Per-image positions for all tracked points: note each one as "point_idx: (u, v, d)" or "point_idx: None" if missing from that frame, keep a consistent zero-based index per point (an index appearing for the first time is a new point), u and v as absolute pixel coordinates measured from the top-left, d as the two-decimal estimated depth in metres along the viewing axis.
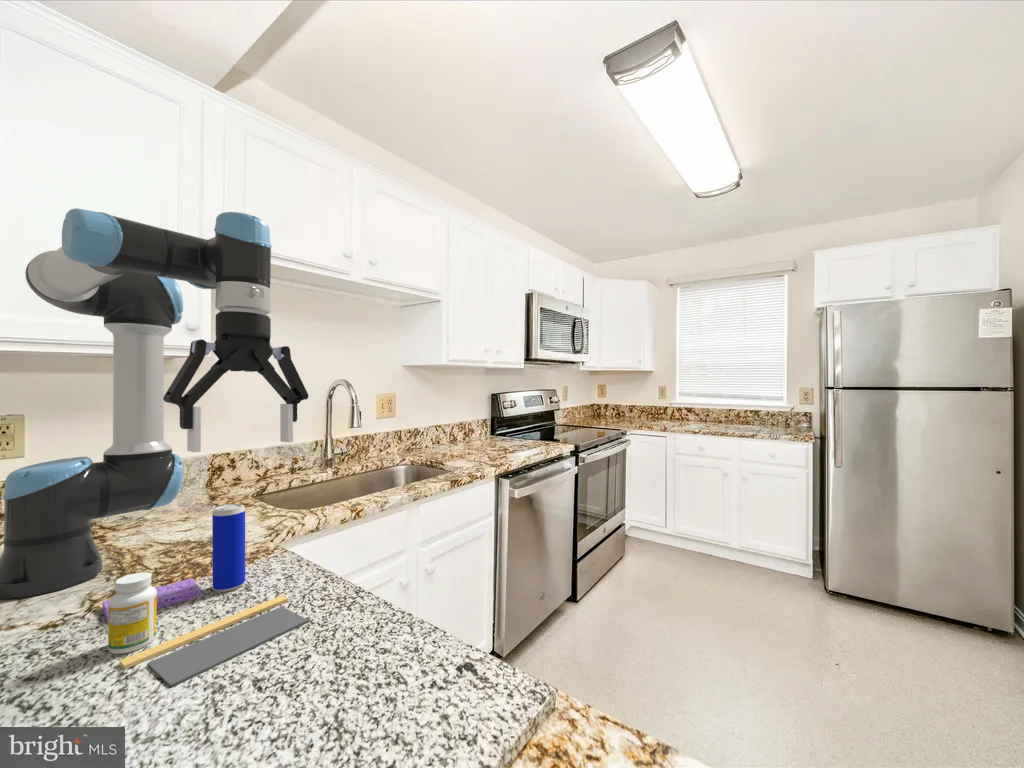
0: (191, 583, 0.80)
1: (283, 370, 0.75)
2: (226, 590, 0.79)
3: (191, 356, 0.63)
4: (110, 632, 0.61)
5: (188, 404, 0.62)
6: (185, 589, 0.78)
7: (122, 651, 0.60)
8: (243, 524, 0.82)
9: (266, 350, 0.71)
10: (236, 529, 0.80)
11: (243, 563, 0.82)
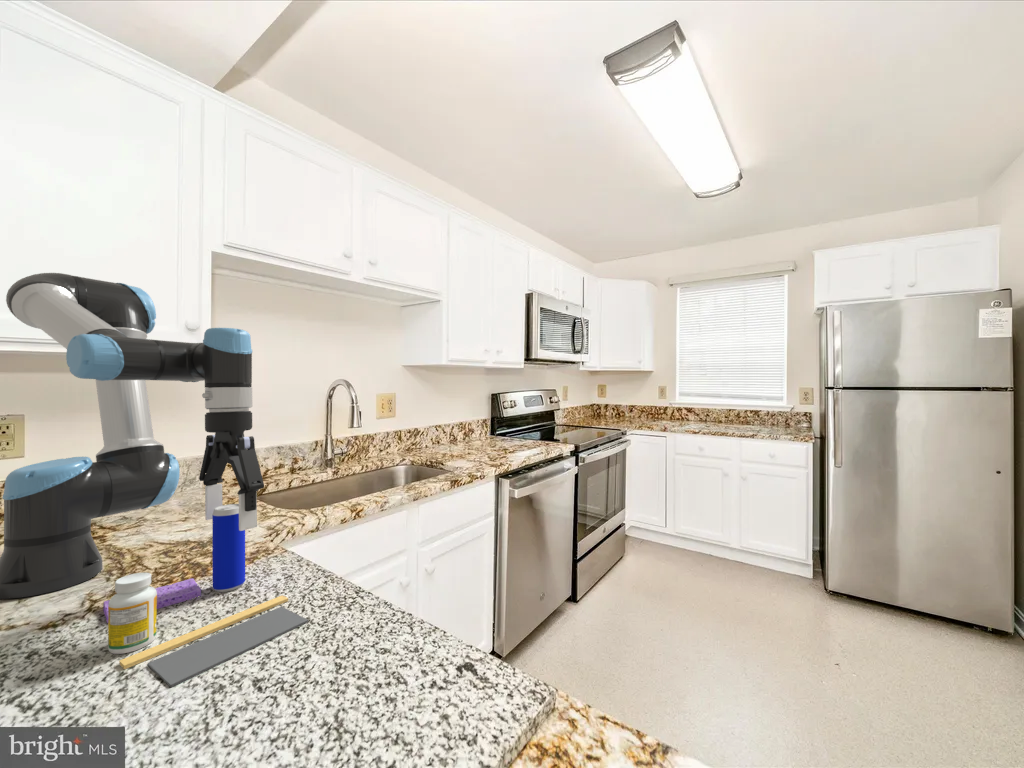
0: (191, 584, 0.80)
1: None
2: (226, 590, 0.79)
3: None
4: (110, 632, 0.61)
5: (204, 483, 0.85)
6: (186, 589, 0.78)
7: (122, 651, 0.60)
8: None
9: (230, 442, 0.79)
10: (236, 529, 0.80)
11: (243, 563, 0.82)
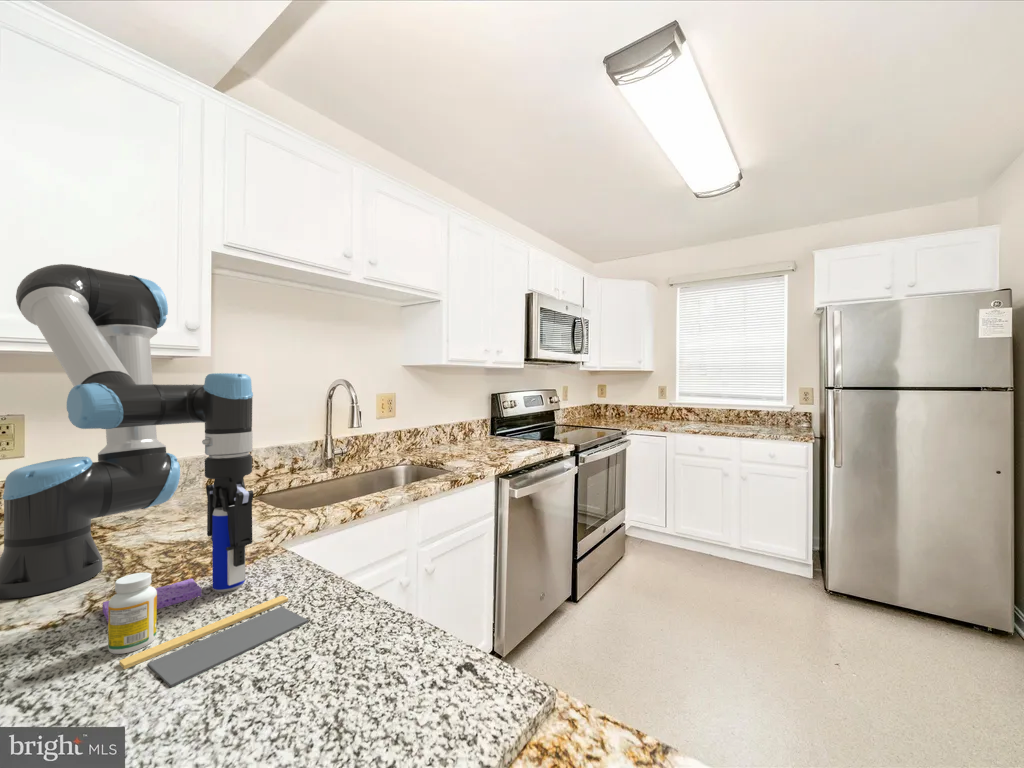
0: (191, 584, 0.80)
1: None
2: (226, 590, 0.79)
3: None
4: (110, 632, 0.61)
5: None
6: (186, 589, 0.78)
7: (122, 651, 0.60)
8: None
9: (229, 488, 0.79)
10: None
11: None
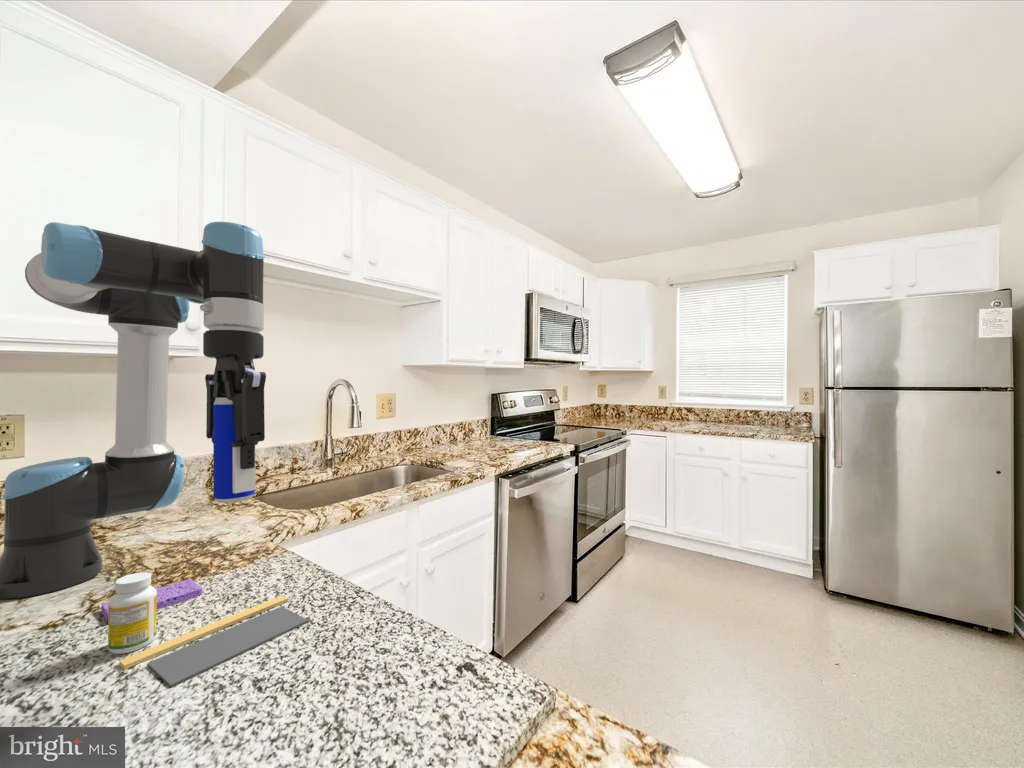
0: (191, 583, 0.80)
1: None
2: (232, 499, 0.61)
3: None
4: (110, 632, 0.61)
5: (212, 441, 0.65)
6: (186, 589, 0.78)
7: (122, 651, 0.60)
8: None
9: (235, 369, 0.61)
10: None
11: None
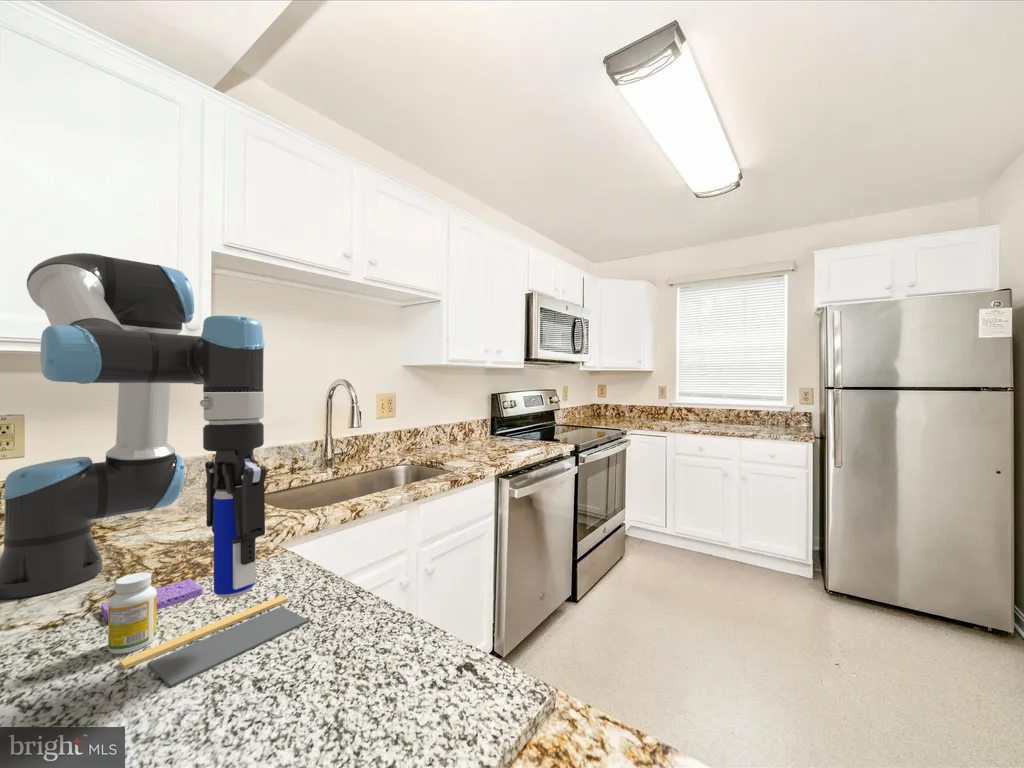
0: (191, 583, 0.80)
1: None
2: (232, 594, 0.61)
3: None
4: (110, 632, 0.61)
5: (213, 531, 0.65)
6: (186, 589, 0.78)
7: (122, 651, 0.60)
8: None
9: (235, 463, 0.61)
10: None
11: None
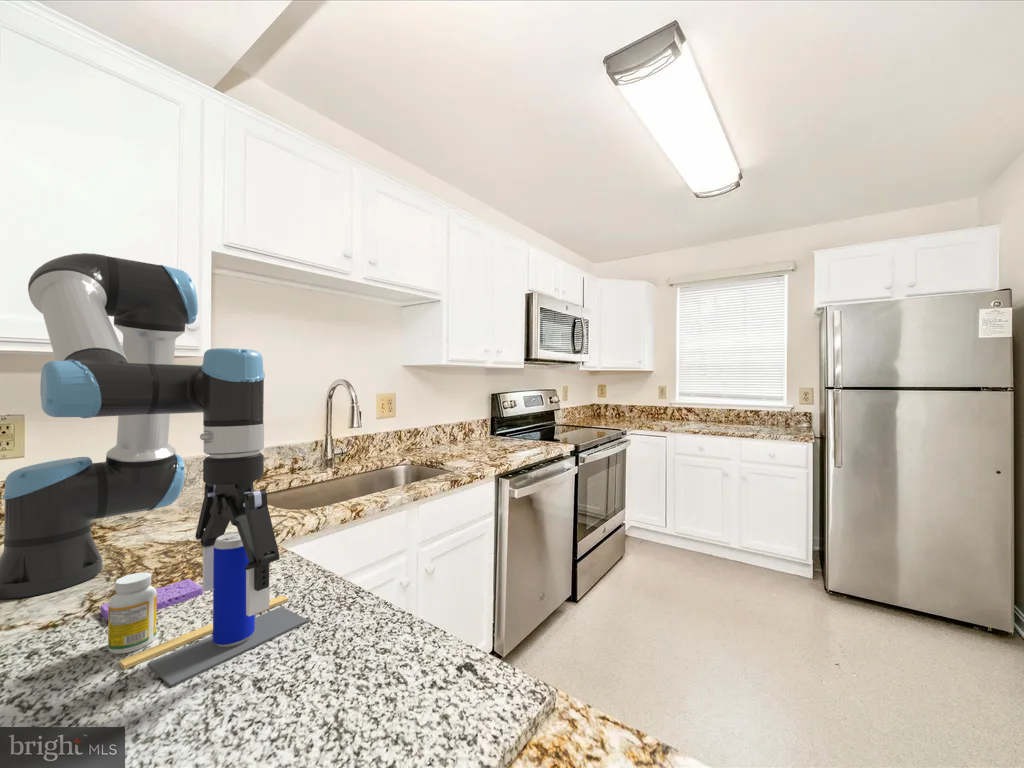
0: (190, 583, 0.80)
1: None
2: (231, 644, 0.61)
3: None
4: (110, 632, 0.61)
5: (201, 543, 0.67)
6: (186, 589, 0.78)
7: (122, 651, 0.60)
8: None
9: (235, 497, 0.61)
10: (244, 566, 0.62)
11: None
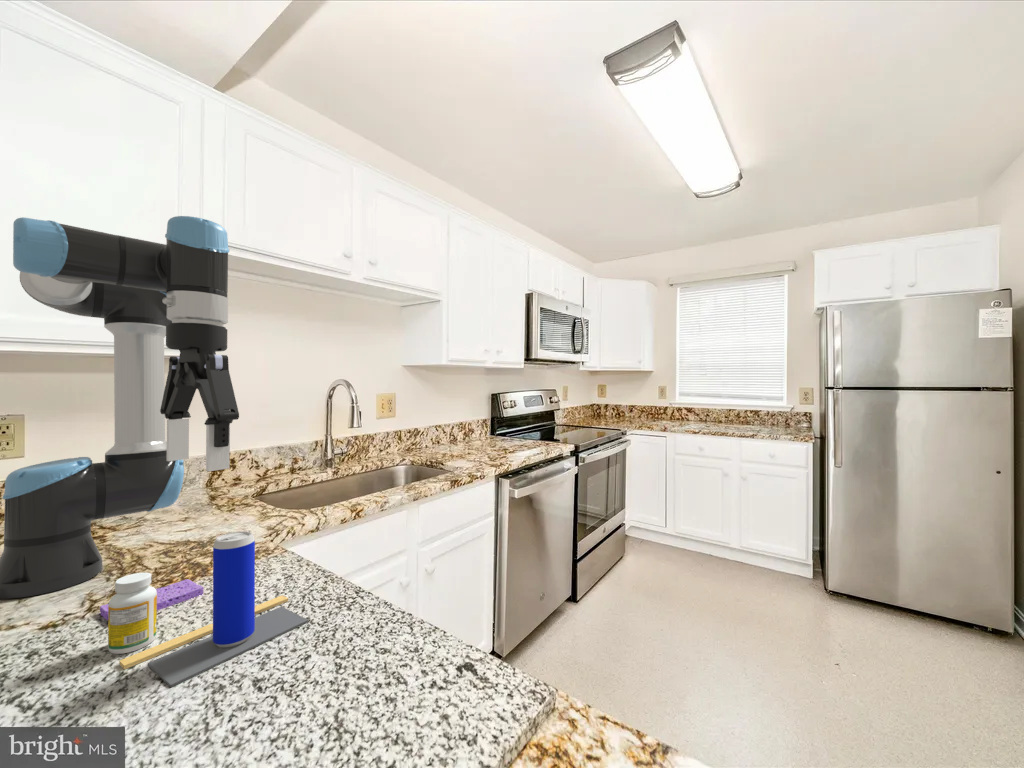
0: (190, 583, 0.80)
1: None
2: (231, 644, 0.61)
3: None
4: (110, 632, 0.61)
5: (165, 416, 0.68)
6: (187, 588, 0.78)
7: (122, 651, 0.60)
8: (252, 558, 0.64)
9: (197, 361, 0.63)
10: (244, 565, 0.62)
11: (252, 608, 0.64)
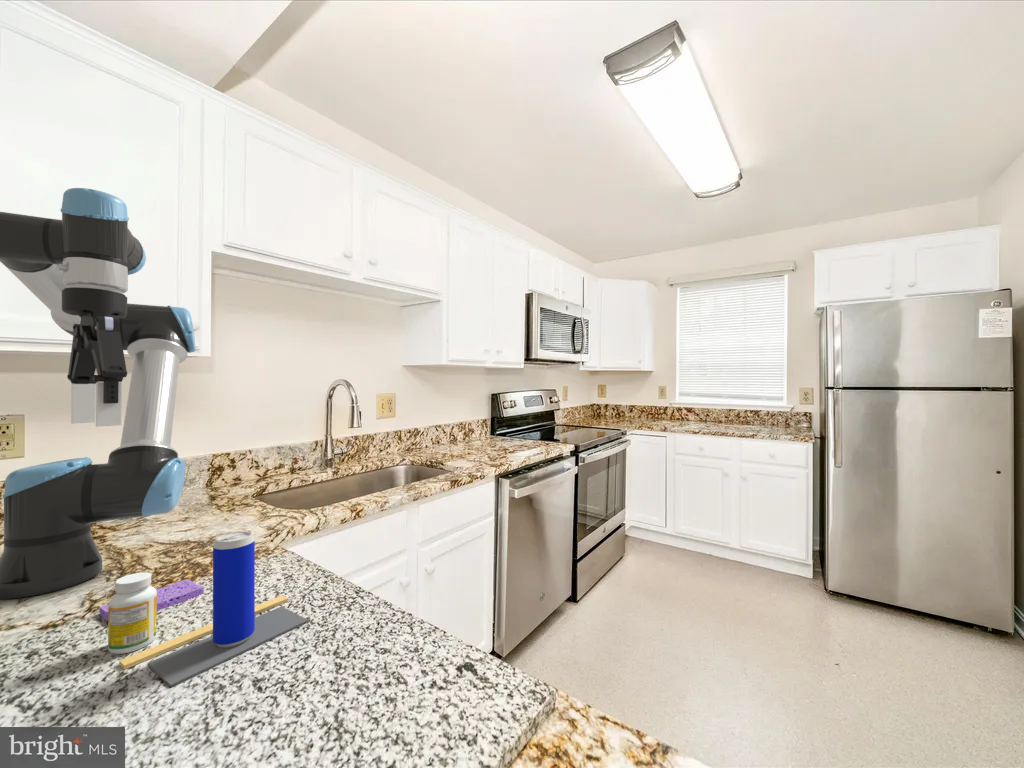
0: (190, 583, 0.80)
1: None
2: (231, 644, 0.61)
3: None
4: (110, 632, 0.61)
5: (71, 381, 0.72)
6: (187, 588, 0.78)
7: (122, 651, 0.60)
8: (252, 558, 0.64)
9: (91, 324, 0.66)
10: (244, 566, 0.62)
11: (252, 608, 0.64)
